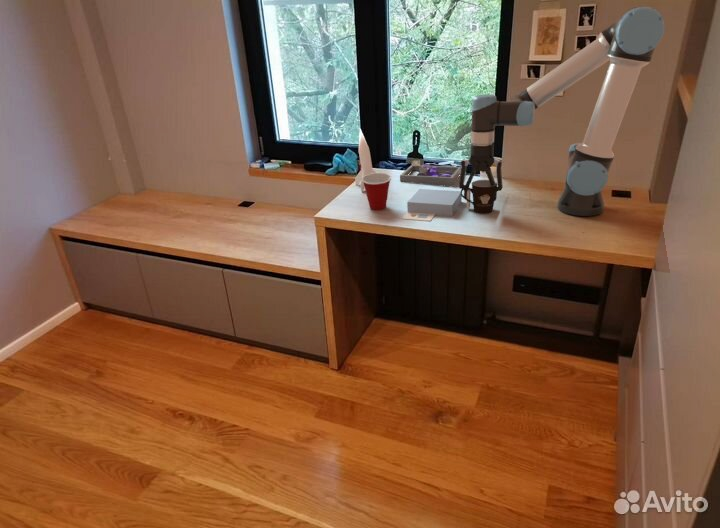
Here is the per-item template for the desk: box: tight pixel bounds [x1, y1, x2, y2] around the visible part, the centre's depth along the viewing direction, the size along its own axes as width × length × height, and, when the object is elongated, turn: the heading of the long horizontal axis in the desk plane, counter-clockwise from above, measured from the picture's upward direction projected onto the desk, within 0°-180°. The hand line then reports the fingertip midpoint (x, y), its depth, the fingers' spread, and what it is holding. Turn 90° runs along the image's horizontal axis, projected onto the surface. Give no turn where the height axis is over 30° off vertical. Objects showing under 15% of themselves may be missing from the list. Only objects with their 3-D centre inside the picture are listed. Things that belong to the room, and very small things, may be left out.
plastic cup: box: [362, 172, 392, 211], centre depth 189 cm, size 11×11×12 cm
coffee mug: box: [460, 179, 498, 215], centre depth 182 cm, size 12×9×10 cm
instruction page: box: [401, 211, 436, 222], centre depth 182 cm, size 10×7×1 cm
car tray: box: [399, 164, 462, 187], centre depth 220 cm, size 22×17×4 cm
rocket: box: [354, 128, 377, 192], centre depth 207 cm, size 10×9×24 cm
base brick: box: [406, 188, 463, 217], centre depth 189 cm, size 16×16×4 cm
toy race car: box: [416, 163, 453, 177], centre depth 219 cm, size 10×15×6 cm, turn 66°
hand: (479, 208), depth 184 cm, fingers closed on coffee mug, 7 cm apart
